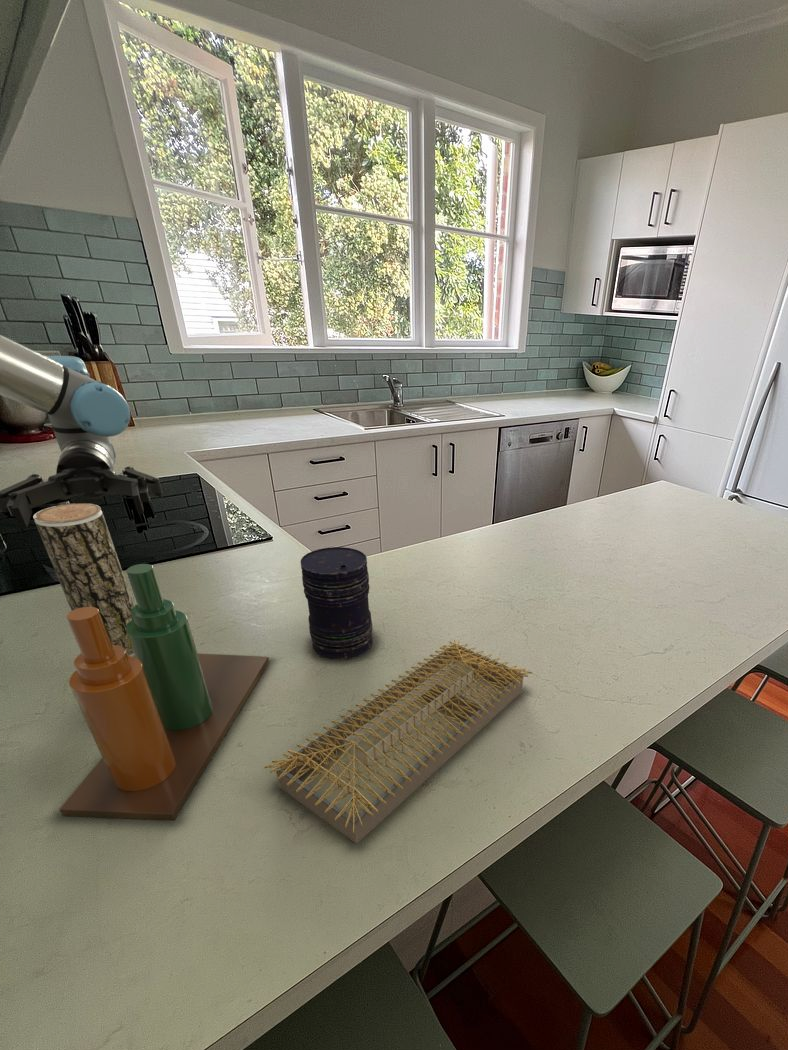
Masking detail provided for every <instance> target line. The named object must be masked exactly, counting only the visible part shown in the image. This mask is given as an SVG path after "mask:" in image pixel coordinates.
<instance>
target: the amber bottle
mask: <svg viewBox="0 0 788 1050" xmlns="http://www.w3.org/2000/svg"><path fill="white" fill-rule="evenodd" d="M65 617H66V620H67V623H68V624H69V627H70V630H71V632H72V634H73V636H74V639H75V641H76V644H77V646H78V648H79V650H80V653H79V654H78V655H77V656H76V657H75V658H74V660H73V665H74V668H75V671H73V673H72V674H71V676H70V677H69V680H68V685H69V687H70V689H71V691H72V693H73V696H74V699H75V700H76V702H77V705H78V707H79V710H80V711H81V714H82V716H83V718H84V720H85V722H86V724H87V727H88V729H89V731H90V733H91V736H92V738H93V740H94V743H95V744H96V747H97V749H98V751H99V753H100V755H101V759H102V758H103V760H104V762H105V764H106V767H107V769H108V771H109V773H110V775H111V778H112V780H113V782H114V784H115V786H116V787H117V788H119V789H121V790H124V791H140V790H145V789H148V788H151V787H153V786H156V785H157V784H159V783H161V782H162V781H164V780H165V779H166V778H168V777H169V776H170V775H171V773H172V772H173V771H174V769H175V766H176V759H175V756H174V753H173V750H172V747H171V744H170V742H169V739H168V736H167V733H166V730H165V727H164V725H163V722H162V719H161V716H160V713H159V710H158V708H157V705H156V702H155V699H154V696H153V693H152V691H151V688H150V685H149V682H148V679H147V676H146V674H145V671H144V668H143V665H142V663H141V661H140V660H139V659H137V658H135V657H132V656H127V654H126V651H125V649H124V648H123V647H121V646H118V645H112V644H111V641H110V638H109V636H108V633H107V631H106V628H105V625H104V623H103V620H102V617H101V615H100V612H99V610H98V609H97V608H95V607H82V608H78V609H75V610H73V611H71V610H70V611H69V612H68V613H66V616H65Z"/></svg>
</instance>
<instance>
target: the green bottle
mask: <svg viewBox="0 0 788 1050" xmlns="http://www.w3.org/2000/svg"><path fill="white" fill-rule="evenodd" d="M126 575H127V578H128V581H129V583H130V586H131V590H132V592H133V595H134V599H135V602H136V605H134V607H133V608H132V609H131V615H132V618H133V620H131V621H130V622H129V623H128V624H127V626H126V632H127V635H128V638H129V640H130V643H131V646H132V649H133V652H134V654H135V657H136V658H137V659H139V660H140V661H141V663H142V665H143V668H144V671H145V674H146V676H147V679H148V682H149V685H150V688H151V691H152V693H153V696H154V699H155V702H156V705H157V708H158V710H159V713H160V716H161V719H162V722H163V725H164V727H165V729H168V730H185V729H189V728H192V727H195V726H197V725H199V724H201V723H202V722H204V721H205V720H206V719H208V717H209V716H210V715H211V713H212V710H213V707H212V704H211V700H210V696H209V693H208V689H207V686H206V682H205V679H204V675H203V672H202V668H201V665H200V661H199V658H198V654H197V653H198V651H197V648H196V644H195V643H196V642H195V640H194V636H193V632H192V629H191V627H190V623H189V618H188V616H187V615H186V613H184V612H182V611H181V610H176V608H175V604H174V602H172V601H171V600H169V599H165V598H163V594H162V591H161V588H160V584H159V582H158V578H157V575H156V572H155V569H154V566H153V565H152V564H149V563H139V564H135V565H131V566H129V567H128V568H127V569H126Z"/></svg>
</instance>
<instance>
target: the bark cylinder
mask: <svg viewBox="0 0 788 1050" xmlns="http://www.w3.org/2000/svg"><path fill="white" fill-rule="evenodd" d="M32 518H33V520H34V524H35V527H36V528H37V531H38V533H39V535H40V536H39V537H40V538H41V540H42V544H43V545H44V547H45V550H46V553H47V555H48V558H49V561H50V562H51V564H52V567H53V570H54V572H55V574H56V576H57V579H58V582H59V584H60V587H61V589H62V591H63V593H64V597H65V599H66V601H67V603H68V606H69V608H70V612H71V611H73V610H75V609H78V608H82V607H95V608H97V609H98V610H99V612H100V615H101V617H102V620H103V623H104V625H105V628H106V631H107V633H108V636H109V638H110V641H111V644H112V645H118V646H121V647H123V648H124V649H125V651H126V654H127V656H132V657H135V654H134V652H133V649H132V646H131V643H130V640H129V638H128V635H127V632H126V626H127V624H128V623H129V622H130V621H131V620H133V618H132V615H131V609H132V608H133V607H134V606H135V604H134V601H133V598H132V595H131V592H130V589H129V586H128V583H127V580H126V577H125V574H124V572H123V568H122V567H121V563H120V560H119V557H118V553H117V550H116V548H115V545H114V542H113V539H112V536H111V533H110V530H109V527H108V525H107V522H106V519H105V516H104V513H103V511H102V508H101V506H99V505H97V504H94V503H86V502H79V503H76V502H75V503H66V504H60V505H55V506H50V507H47V508H43V509H41V510H39V511H37V512H36V513H34V514H33V516H32ZM135 658H136V657H135Z"/></svg>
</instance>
